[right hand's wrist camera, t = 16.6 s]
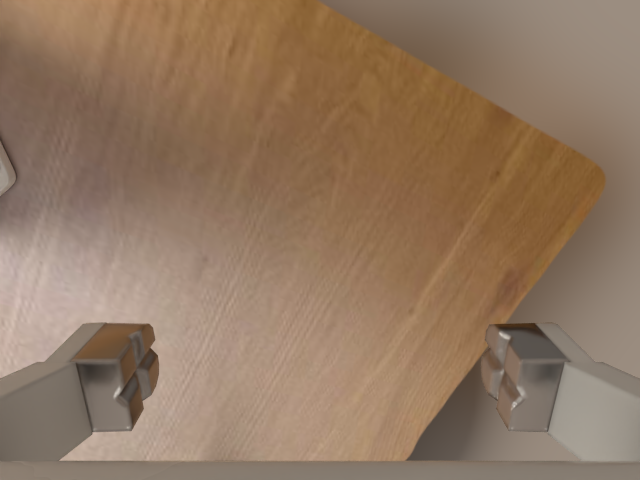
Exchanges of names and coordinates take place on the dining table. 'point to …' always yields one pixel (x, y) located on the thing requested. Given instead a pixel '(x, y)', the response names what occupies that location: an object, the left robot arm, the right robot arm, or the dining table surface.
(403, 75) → the dining table surface
